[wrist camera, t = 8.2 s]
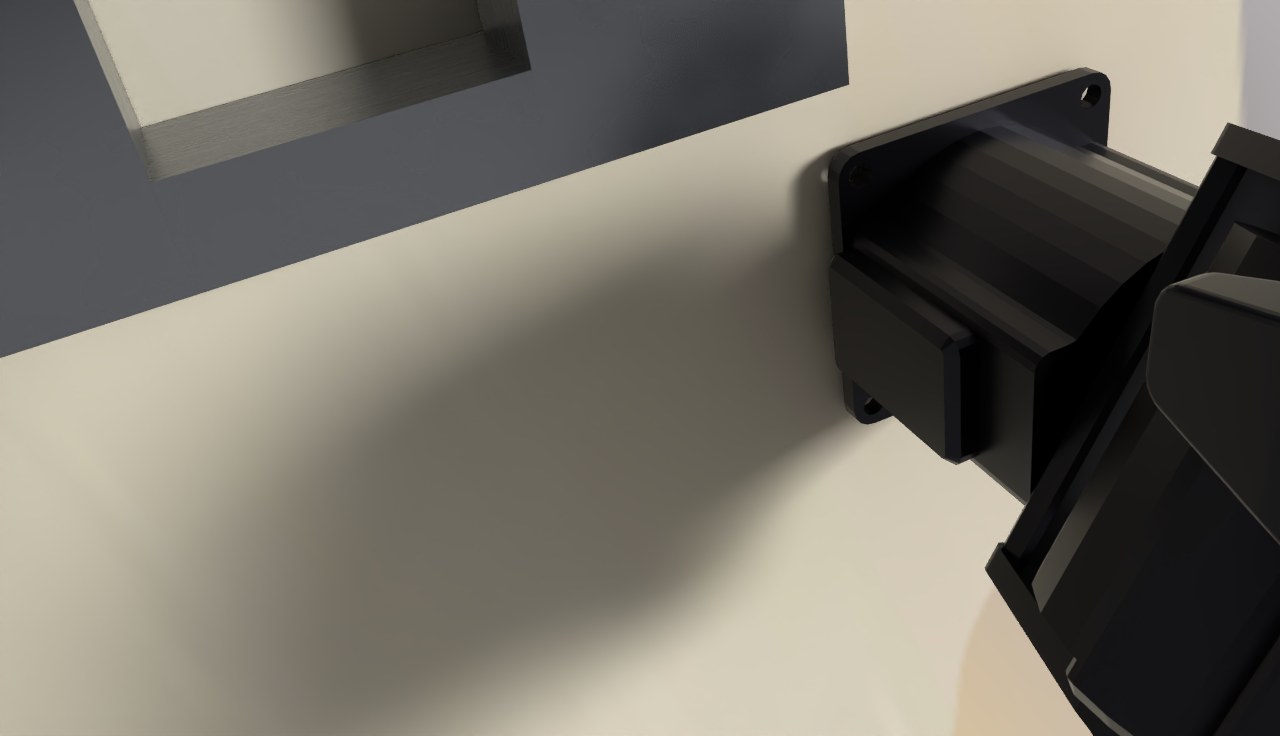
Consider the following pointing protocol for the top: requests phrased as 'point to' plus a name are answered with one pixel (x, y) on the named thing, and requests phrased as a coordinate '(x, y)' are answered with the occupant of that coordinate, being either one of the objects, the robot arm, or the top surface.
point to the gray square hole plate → (351, 140)
